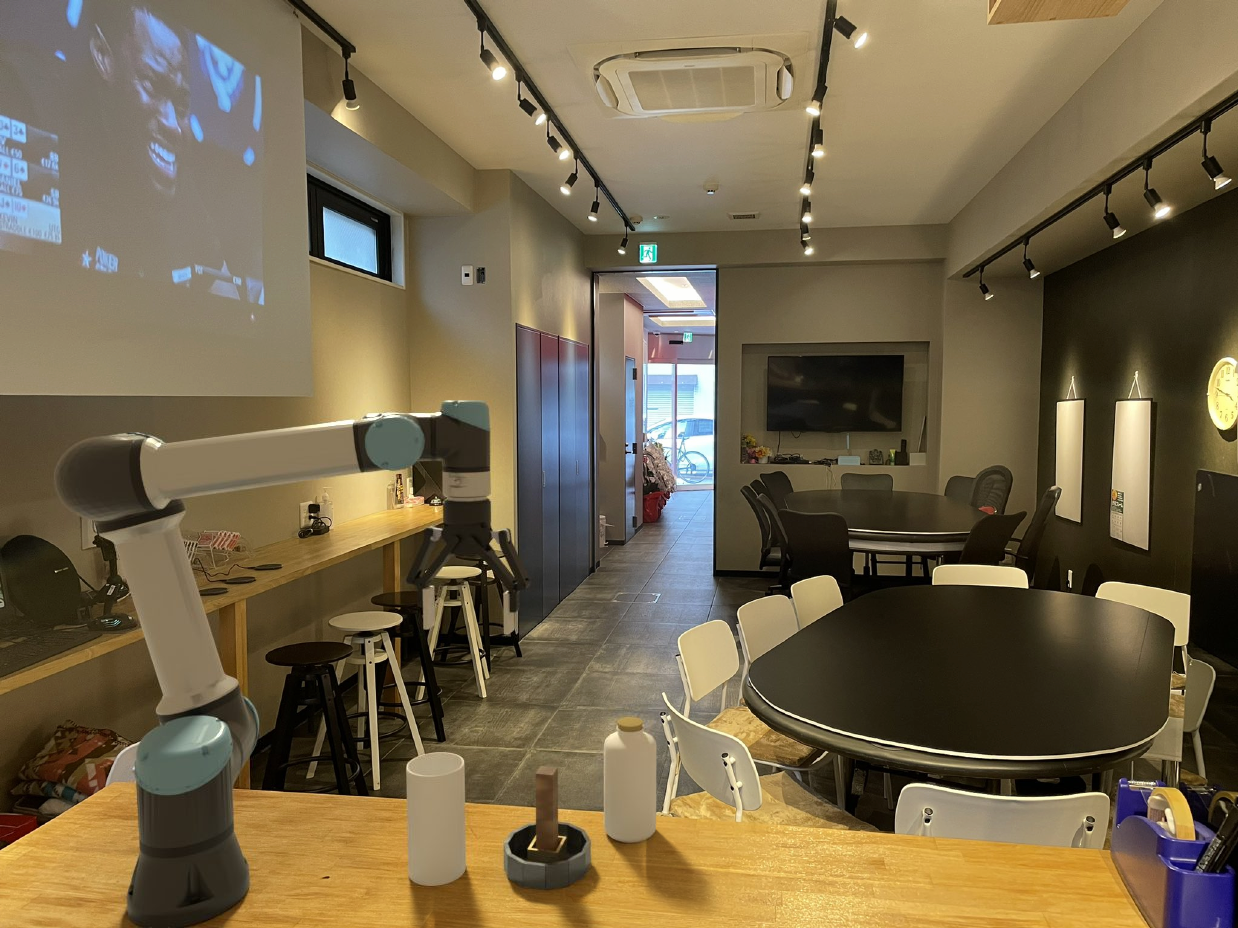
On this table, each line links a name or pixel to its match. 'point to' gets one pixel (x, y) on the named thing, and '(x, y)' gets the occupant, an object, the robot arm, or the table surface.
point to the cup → (436, 818)
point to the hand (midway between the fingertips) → (468, 629)
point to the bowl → (547, 857)
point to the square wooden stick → (547, 808)
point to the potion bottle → (630, 782)
